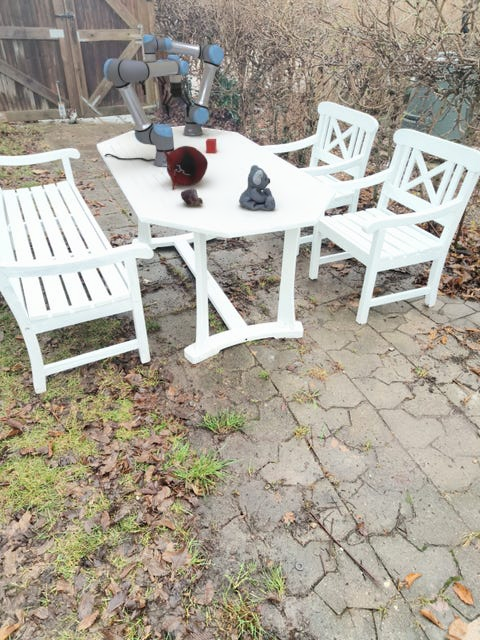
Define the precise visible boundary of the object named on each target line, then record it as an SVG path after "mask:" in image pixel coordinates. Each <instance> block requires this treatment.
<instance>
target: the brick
mask: <svg viewBox="0 0 480 640" xmlns="http://www.w3.org/2000/svg"><path fill="white" fill-rule="evenodd" d="M217 150H218V149H217V138H207V139H206V140H205V151H206V154H216V153H217Z"/></svg>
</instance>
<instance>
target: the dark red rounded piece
mask: <svg viewBox="0 0 480 640" xmlns="http://www.w3.org/2000/svg"><path fill="white" fill-rule="evenodd" d="M163 152H164V153H165V155H166V157H167V158H166V159H167V167H166V173H167V174H168V176H169V177H170V180H171V182H172V190H175V188H176V185H177V186H186V187H187V186H188V187H189V186H193V185H196V184H197V183H199V182H200V181H201V180H202V179H203V178H204V176H205V174H206V173H207V170H208V164H209V163H208V159H207V158H206V155H204V153H203V152H201V150H199V149H197V148H196V147H194V146H190V145H182V146H178V147H176V148H174V150H173V151H171V152H170V153H169V154H168V153H167V152H166V151H165V150H163Z"/></svg>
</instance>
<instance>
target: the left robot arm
mask: <svg viewBox="0 0 480 640" xmlns="http://www.w3.org/2000/svg"><path fill="white" fill-rule="evenodd" d="M189 71H190V65H189V63H188V61H186V60H183V59H182V60H181V59H180V56H179V55H178V54H168V55H167V59H158V60H156V62H151V63H146V61H145V60H134V59H129V58H128V59H127V58H116V57H113V58H108V59H107V60H106V61H105V63H104V64H103V75H104V77H105V79H106V80H107V81H108V82H112V85H113V87H114V89H115V90H118V91H119V93H120V95H121V97H122V100H123V102H124V104H125V105H126V107H127V108H126V109H127V110H128V112H129V114H130V116H131V118H132V120H133V122H134V131H133V132H134V133H133V135H134V137H135V139H136V141H138V143H141V144H143V145H149V146H155V155H154V158H152V159H151V158H150V159H146V158H143V157H127V158H125V157H119V156H117V155H115V154H112V153H105V154H104V157H107V156H111V157H113V158H115V159H118V160H127V161H131V160H133V161H134V160H143V161H145V162H154V165H155V166H157V167H163V168H164V167H165V168H167V159H166V158H167V157H166V155H165V153H164V152H163V150H165V151H166V152H167V153H168V154H169V153H170V152H171V151H173V150H175V143H174V141H175V140H174V132H173V128H172V126H170V125H169V124H166V123H156V124H154V123H153V121H152V119H150V118H148V116H147V114H146V112H145V109H144V107H143V104H142V103H141V101H140V98H139V96H138V94H137V92H136V90H135V88H134V85H133V83H137V82H139V81H143V80H146V81H147V80H149V78H157V77H161V76H164V77H166V76H169V88H170V89H165V94H164V97H163V101H162V104H161V105H162V106H164V108H165V112H166V116H167V117H168V118H169V117H171V113H170V105H169V104H170V102H171V101H172V99H173V98H178V99H179V98H180V99H181V100H182V102H183V103H184V105H185V104H186V105H187V107H186V113H187V117H189V111H190V106H191V105H192V103H193V102H192V101H191V98H190V97H189V94H188V91H187V89H183V88H182V76H183V75H188V73H189ZM169 94H171V95H170V96H169ZM167 99H168V100H167Z"/></svg>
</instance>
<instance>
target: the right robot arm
mask: <svg viewBox="0 0 480 640" xmlns="http://www.w3.org/2000/svg"><path fill="white" fill-rule="evenodd" d="M142 45H143V52H144V61H145V62H146V63H151V62H156V61H157V59H156V58H157V57H156V56H157V55H156V52H159V51H160V52H161V51H162V52H168V53H171V54H172V53H173V54H177V55H178V54H179V55H183V56H189V57H194V58H195V59H196V60H201V61H203V65H204V67H203V72H202V76H201V80H200V85H199V90H198V93H197V97H196V100H195V101H194V102H192V105H191V106H190V111H189V117H187V113H186V107H187V105H186V104H185V103H184V107H183V110H184V122H185V123H184V124H185V125H184V129H183V135H184V136H186V137H187V136H188V137H198V136H202V135H203V133H204V131H203V129H202V128H203V127H202V126H201V125H204V124H206V123H207V122H208V120H209V119H210V118H209V117H210V112H209V108H210V106H209V104H208V103H209V101H210V95H211V91H212V87H213V83H214V80H215V75H216V71H217V70H218V69H219V68H220V65H221V63H222V62H223V61H224V58H225V54H224V50H223V48H222V47H221V46H219V45H218V44H209V43H207V44H201V43H196V44H194V43H193V44H192V43H188V42H183V41H178V40H172V39H171V38H170V37H158V36H154V34H143V35H142ZM165 77H166V76H159V77H156V79H157V80H158V81H159V82H160V84H161V87H160V88H161V95H162V96H165V91H166V85H167V84H168V81H167V79H166V78H165ZM146 81H147V80H142V81H138V84H139V85H141V90H142V92H143V96H146V95H147V91H146V84H145V83H146Z"/></svg>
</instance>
